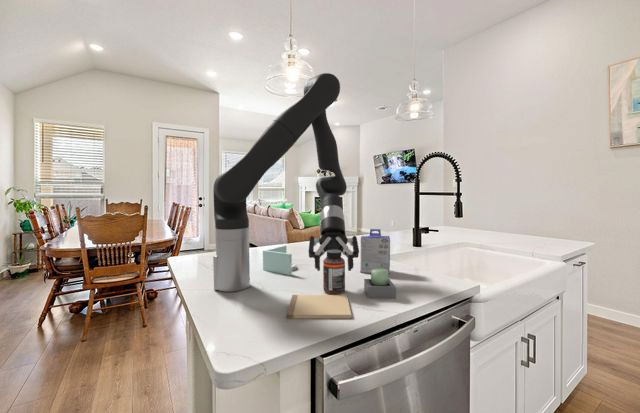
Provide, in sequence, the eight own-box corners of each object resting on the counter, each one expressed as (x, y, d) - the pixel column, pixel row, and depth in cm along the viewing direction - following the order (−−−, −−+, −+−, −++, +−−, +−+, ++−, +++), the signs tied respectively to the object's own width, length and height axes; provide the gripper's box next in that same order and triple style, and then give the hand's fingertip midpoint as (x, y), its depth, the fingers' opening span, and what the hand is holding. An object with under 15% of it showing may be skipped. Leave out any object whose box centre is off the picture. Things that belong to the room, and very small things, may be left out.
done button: (372, 285, 75) (372, 272, 75) (369, 280, 79) (369, 267, 79) (389, 285, 75) (389, 272, 75) (385, 280, 79) (385, 267, 79)
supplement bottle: (322, 288, 82) (322, 248, 81) (343, 287, 82) (343, 248, 82) (324, 295, 76) (324, 253, 75) (346, 294, 76) (346, 252, 76)
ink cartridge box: (389, 270, 101) (390, 229, 100) (390, 274, 95) (390, 231, 95) (361, 268, 103) (361, 228, 102) (360, 273, 97) (360, 230, 97)
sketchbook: (286, 318, 62) (286, 314, 62) (292, 298, 74) (292, 294, 74) (351, 318, 62) (351, 314, 62) (346, 297, 74) (346, 294, 74)
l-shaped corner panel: (290, 276, 95) (289, 254, 95) (263, 271, 102) (262, 250, 101) (310, 268, 105) (310, 248, 105) (284, 264, 112) (284, 245, 111)
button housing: (368, 298, 74) (368, 287, 74) (364, 289, 81) (364, 278, 81) (395, 298, 74) (395, 287, 73) (389, 289, 81) (389, 278, 80)
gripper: (309, 215, 87) (307, 262, 76) (356, 215, 87) (361, 262, 76) (310, 230, 92) (308, 276, 81) (354, 230, 92) (359, 276, 81)
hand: (334, 269), depth 79 cm, fingers open, 8 cm apart
